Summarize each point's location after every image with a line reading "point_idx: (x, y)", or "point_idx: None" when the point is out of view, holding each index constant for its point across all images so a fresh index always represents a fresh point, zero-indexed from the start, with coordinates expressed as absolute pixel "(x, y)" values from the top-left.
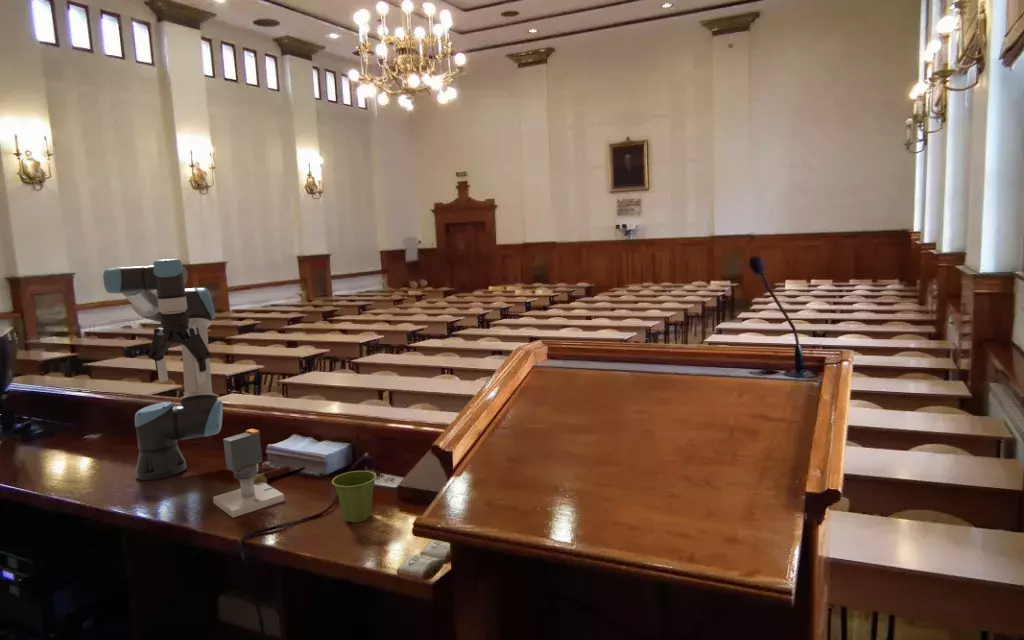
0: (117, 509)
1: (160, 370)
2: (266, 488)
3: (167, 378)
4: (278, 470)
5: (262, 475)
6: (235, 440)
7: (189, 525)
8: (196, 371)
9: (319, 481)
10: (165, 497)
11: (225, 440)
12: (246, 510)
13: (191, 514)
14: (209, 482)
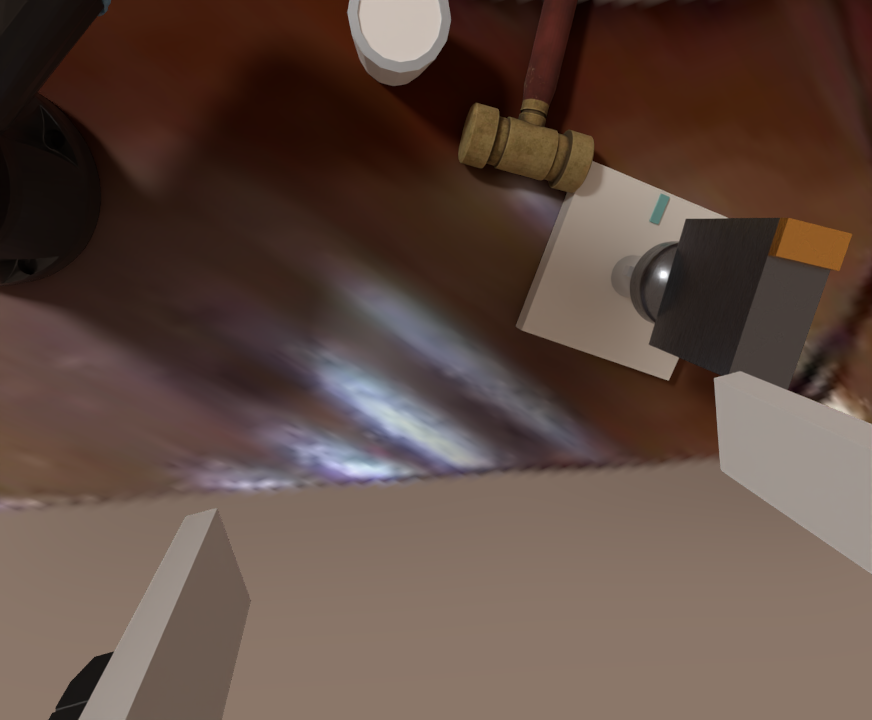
0: (242, 481)
1: (217, 716)
2: (647, 205)
3: (213, 526)
4: (566, 38)
5: (593, 150)
6: (794, 362)
7: (575, 456)
8: (836, 543)
9: (738, 34)
10: (302, 356)
11: None
12: None
13: (517, 408)
14: (326, 193)
